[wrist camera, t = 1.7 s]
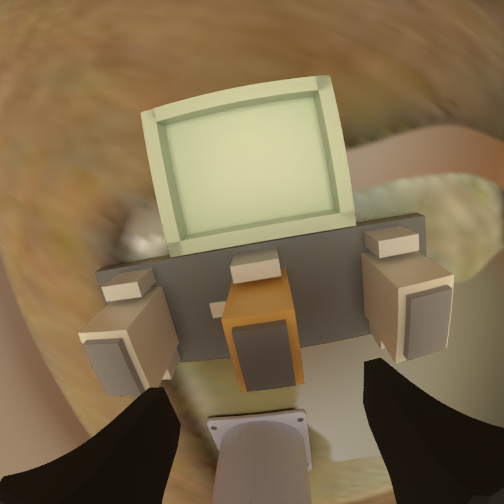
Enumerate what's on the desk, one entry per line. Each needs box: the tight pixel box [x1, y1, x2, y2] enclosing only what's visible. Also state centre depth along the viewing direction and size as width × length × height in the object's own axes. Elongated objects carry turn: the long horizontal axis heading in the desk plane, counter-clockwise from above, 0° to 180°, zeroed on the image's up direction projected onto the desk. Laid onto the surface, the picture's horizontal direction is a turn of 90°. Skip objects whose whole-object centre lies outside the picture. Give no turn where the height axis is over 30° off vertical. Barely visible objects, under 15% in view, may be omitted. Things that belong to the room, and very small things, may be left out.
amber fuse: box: [221, 267, 304, 392], centre depth 15 cm, size 4×3×6 cm
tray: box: [141, 75, 356, 257], centre depth 16 cm, size 8×10×2 cm
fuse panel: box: [78, 213, 454, 397], centre depth 15 cm, size 7×21×7 cm, turn 101°
